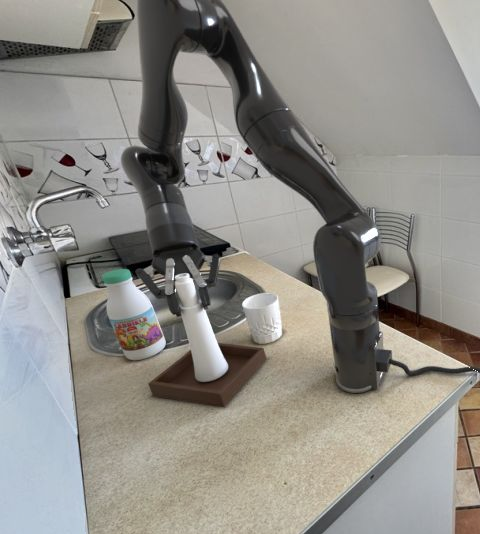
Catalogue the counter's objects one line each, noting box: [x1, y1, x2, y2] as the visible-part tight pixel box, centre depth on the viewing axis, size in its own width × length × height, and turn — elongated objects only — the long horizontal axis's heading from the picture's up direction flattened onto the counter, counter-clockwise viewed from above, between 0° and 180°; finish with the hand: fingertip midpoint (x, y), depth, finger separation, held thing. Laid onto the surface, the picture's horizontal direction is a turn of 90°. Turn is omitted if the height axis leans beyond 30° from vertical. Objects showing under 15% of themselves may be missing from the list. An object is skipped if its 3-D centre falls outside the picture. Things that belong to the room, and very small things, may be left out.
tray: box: [147, 342, 267, 408], centre depth 66 cm, size 16×14×3 cm
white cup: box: [241, 292, 283, 345], centre depth 78 cm, size 8×8×10 cm
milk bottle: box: [101, 268, 167, 361], centre depth 71 cm, size 8×8×20 cm
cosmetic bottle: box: [175, 273, 228, 382], centre depth 62 cm, size 6×6×22 cm
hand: (192, 311), depth 59 cm, fingers closed on cosmetic bottle, 3 cm apart
